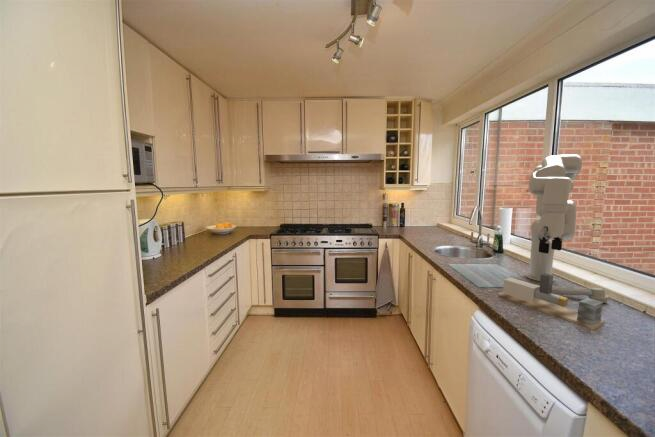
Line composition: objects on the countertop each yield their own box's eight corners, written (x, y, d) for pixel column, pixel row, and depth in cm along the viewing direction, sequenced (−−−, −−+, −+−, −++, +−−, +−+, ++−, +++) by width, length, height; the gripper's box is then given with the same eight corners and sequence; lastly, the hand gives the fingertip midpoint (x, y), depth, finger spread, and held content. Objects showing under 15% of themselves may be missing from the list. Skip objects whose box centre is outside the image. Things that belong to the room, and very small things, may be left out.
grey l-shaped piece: (507, 288, 122) (508, 266, 121) (511, 287, 124) (512, 265, 122) (563, 307, 104) (566, 281, 102) (567, 305, 105) (570, 279, 104)
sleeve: (503, 293, 123) (504, 279, 122) (509, 290, 125) (510, 277, 124) (532, 303, 112) (533, 288, 112) (539, 300, 115) (540, 286, 114)
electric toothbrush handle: (533, 282, 128) (604, 284, 116) (534, 296, 129) (605, 299, 116) (535, 286, 124) (609, 288, 111) (536, 300, 124) (610, 304, 112)
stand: (498, 295, 123) (499, 277, 122) (509, 291, 127) (511, 274, 126) (593, 329, 94) (595, 307, 93) (604, 323, 98) (607, 302, 97)
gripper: (554, 207, 113) (550, 246, 115) (531, 209, 105) (527, 251, 107) (576, 208, 106) (572, 250, 108) (554, 211, 98) (549, 256, 100)
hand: (549, 251), depth 108 cm, fingers open, 9 cm apart
